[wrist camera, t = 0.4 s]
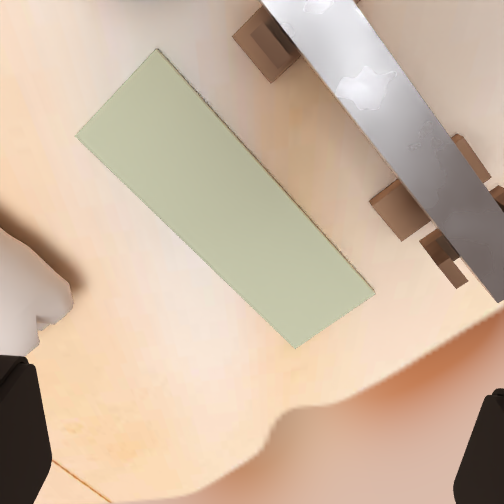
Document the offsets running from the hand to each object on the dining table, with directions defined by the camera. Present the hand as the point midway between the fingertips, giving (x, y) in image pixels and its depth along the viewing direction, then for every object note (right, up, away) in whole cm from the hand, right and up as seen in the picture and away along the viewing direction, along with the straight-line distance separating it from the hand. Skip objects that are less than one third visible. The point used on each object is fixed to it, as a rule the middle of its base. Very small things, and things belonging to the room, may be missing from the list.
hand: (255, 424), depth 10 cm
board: (-1, +6, +28) cm, 29 cm away
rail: (+8, +10, +16) cm, 20 cm away
